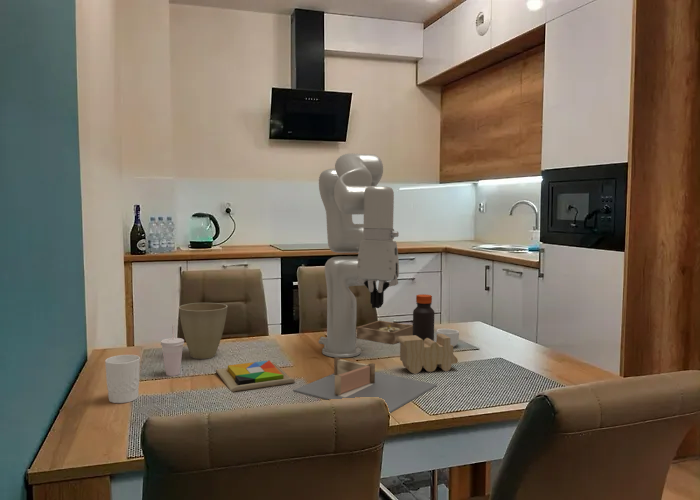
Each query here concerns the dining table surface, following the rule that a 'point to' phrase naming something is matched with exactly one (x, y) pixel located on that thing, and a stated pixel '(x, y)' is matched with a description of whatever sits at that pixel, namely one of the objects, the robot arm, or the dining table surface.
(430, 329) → the bottle
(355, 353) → the robot arm
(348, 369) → the fixed fence panel
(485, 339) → the dining table surface
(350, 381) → the hinged fence panel
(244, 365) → the wooden puzzle
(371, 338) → the tray
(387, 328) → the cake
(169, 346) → the smoothie
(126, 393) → the white cup
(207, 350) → the plant pot
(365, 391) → the card
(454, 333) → the teacup
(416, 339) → the toy train
